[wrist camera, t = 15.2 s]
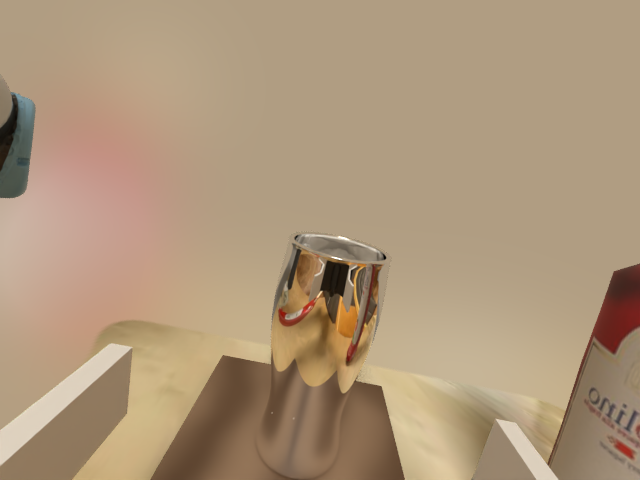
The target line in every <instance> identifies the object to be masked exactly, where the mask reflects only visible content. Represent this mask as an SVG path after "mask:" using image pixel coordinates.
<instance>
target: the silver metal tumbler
mask: <svg viewBox="0 0 640 480" xmlns="http://www.w3.org/2000/svg"><path fill="white" fill-rule="evenodd" d="M390 262H391V256H390V255H389V254H388V253H387V252H385V251H384V250H382V249H380V248H378V247H376V246H373V245H371V244H368V243H365V242H362V241H359V240H355V239H351V238H347V237H343V236H338V235H333V234H327V233H319V232H297V233H293V234H291V235H290V237H289V243H288V247H287V250H286V254H285V258H284V261H283V265H282V268H281V272H280V276H279V280H278V285H277V289H276V294H275V299H274V307H273V313H272V327H271V387H270V394H269V399H268V402H267V405H266V408H265V410H264V413H263V415H262V417H261V420H260V422H259V425H258V428H257V432H256V445H257V449H258V452H259V454H260V456H261V458H262V460H263V461H264V462H265V463H266V464H267V465H268V466H269V467H270V468H271V469H272V470H273V471H275V472H276V473H278V474H280V475H282V476H285V477H288V478H292V479H299V480H305V479H312V478H316V477H318V476H320V475H322V474H324V473H325V472H327V471H328V470H329V469H330V468H331V467H332V465H333V464H334V462H335V460H336V458H337V455H338V450H339V439H340V421H341V416H342V411H343V408H344V405H345V402H346V400H347V398H348V395H349V393H350V391H351V389H352V387H353V385H354V383H355V381H356V379H357V377H358V374H359V372H360V370H361V368H362V366H363V364H364V362H365V360H366V357H367V355H368V352H369V350H370V347H371V345H372V342H373V340H374V336H375V333H376V330H377V326H378V323H379V319H380V315H381V310H382V306H383V302H384V296H385V290H386V285H387V278H388V272H389V267H390Z"/></svg>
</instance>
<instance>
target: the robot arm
mask: <svg viewBox="0 0 640 480" xmlns="http://www.w3.org/2000/svg"><path fill="white" fill-rule="evenodd" d="M34 119H35V104H34V103H33V102H32V100H30V99H28V98H25V97H22V96H21V95H19V94H16V93H13V92H10V90H9V87H8V85H7V83H6V82H5V80H4V79H3V78H2V76H1V75H0V198H15V197H18V196H20V195H22V194H23V193H24V192H25V190H26V187H27V182H28V173H29V164H30V156H31V147H32V139H33V129H34ZM131 359H132V347H128V346H123V345H118V344H113V343H110V344H109V345H108V346H106V347H105V348H104V349H103V350H101V351H100V352H99V353H98V354H96V355H95V356H94V357H92V358H91V359H90V360H89V361H87V362H86V363H85V364H84V365H82V366H81V367H80V368H78V369H77V370H76V371H75V372H73V373H72V374H71V375H70V376H68V377H67V378H66V379H65V380H63V381H62V382H61V383H59V384H58V385H57V386H56V387H54V388H53V389H52V390H51V391H49V392H48V393H47V394H45V395H44V396H43V397H42V398H40V399H39V400H38V401H37V402H35V403H34V404H33V405H32V406H30V407H29V408H28V409H26V410H25V411H24V412H23V413H21V414H20V415H19V416H18V417H16V418H15V419H14V420H13V421H11V422H10V423H9V424H7V425H6V426H5V427H4V428H2V429H1V430H0V480H72V479H73V478H74V476H75V475H76V474H77V473H78V472H79V470H80V469H81V468H82V467H83V466H84V464H85V463H86V462H87V461H88V459H89V458H90V457H91V456H92V455H93V453H94V452H95V451H96V450H97V449H98V447H99V446H100V445H101V444H102V443H103V441H104V440H105V439H106V438H107V437H108V435H109V434H110V433H111V432H112V431H113V429H114V428H115V427H116V426H117V425H118V423H119V422H120V421H121V420H122V419H123V417H124V416H125V415H126V414H127V407H128V395H129V383H130V371H131ZM472 480H558V478H557V477H556V476H555V474H554V473H553V472H552V470H551V469H550V468H549V466H548V465H547V464H546V462H545V461H544V460H543V458H542V457H541V456H540V454H539V453H538V452H537V450H536V449H535V448H534V446H533V445H532V444H531V442H530V441H529V440H528V438H527V437H526V436H525V434H524V433H523V432H522V430H521V429H520V428H519V426H518V425H517V424H516V423H515V422H509V421H504V420H499V419H495V420H494V423H493V426H492V428H491V431H490V433H489V436H488V439H487V441H486V444H485V447H484V449H483V452H482V454H481V457H480V460H479V462H478V465H477V467H476V470H475V473H474V475H473V478H472Z"/></svg>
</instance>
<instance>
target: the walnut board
mask: <svg viewBox="0 0 640 480" xmlns="http://www.w3.org/2000/svg"><path fill="white" fill-rule="evenodd" d="M270 387H271V365H270V364H265V363H260V362H255V361H250V360H245V359H240V358H235V357H229V356H224V355H223V356H222V358H221V359H220V361H219V363H218V364H217V366H216V368H215V370H214V371H213V373H212V375H211V376H210V378H209V380H208V382H207V383H206V385H205V387H204V388H203V390H202V392H201V394H200V395H199V397H198V399H197V400H196V402H195V404H194V406H193V407H192V409H191V411H190V413H189V414H188V416H187V418H186V419H185V421H184V423H183V425H182V426H181V428H180V430H179V431H178V433H177V435H176V437H175V438H174V440H173V442H172V443H171V445H170V447H169V449H168V450H167V452H166V454H165V455H164V457H163V459H162V461H161V462H160V464H159V466H158V468H157V469H156V471H155V473H154V474H153V476H152V478H151V480H299V479H292V478H288V477H285V476H282V475H280V474H278V473H276V472H275V471H273V470H272V469H271V468H270V467H269V466H268V465H267V464H266V463H265V462H264V461H263V460H262V458H261V456H260V454H259V452H258V449H257V445H256V432H257V428H258V425H259V422H260V420H261V417H262V415H263V413H264V410H265V408H266V405H267V402H268V399H269V394H270ZM305 480H405V479H404V475H403V471H402V467H401V463H400V459H399V455H398V451H397V447H396V443H395V439H394V435H393V431H392V427H391V423H390V419H389V415H388V411H387V407H386V403H385V399H384V395H383V391H382V387H381V386H378V385H373V384H367V383H362V382H357V381H355V383H354V385H353V387H352V389H351V391H350V393H349V395H348V398H347V400H346V402H345V405H344V408H343V411H342V416H341V421H340V439H339V450H338V455H337V458H336V460H335V462H334V464H333V465H332V467H331V468H330V469H329V470H328V471H327V472H325V473H324V474H322V475H320V476H318V477H316V478H312V479H305Z"/></svg>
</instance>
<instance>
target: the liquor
mask: <svg viewBox="0 0 640 480" xmlns="http://www.w3.org/2000/svg"><path fill="white" fill-rule="evenodd" d="M547 465H548V466H549V468H550V469H551V470H552V472H553V473H554V474H555V476H556V477H557V478H558V480H640V264H637V265H634V266H631V267H627V268H624V269H620V270H618V271H614V273H613V276H612V278H611V281H610V284H609V287H608V290H607V293H606V296H605V299H604V302H603V304H602V307H601V311H600V313H599V316H598V319H597V321H596V324H595V327H594V329H593V332H592V335H591V337H590V340H589V343H588V346H587V348H586V351H585V354H584V356H583V359H582V362H581V365H580V368H579V371H578V375H577V378H576V381H575V384H574V387H573V390H572V393H571V397H570V400H569V403H568V406H567V409H566V412H565V415H564V418H563V422H562V425H561V428H560V431H559V433H558V436H557V439H556V442H555V444H554V447H553V450H552V453H551V456H550V458H549V461H548V464H547Z"/></svg>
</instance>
